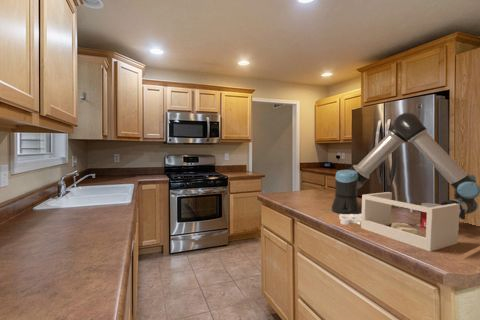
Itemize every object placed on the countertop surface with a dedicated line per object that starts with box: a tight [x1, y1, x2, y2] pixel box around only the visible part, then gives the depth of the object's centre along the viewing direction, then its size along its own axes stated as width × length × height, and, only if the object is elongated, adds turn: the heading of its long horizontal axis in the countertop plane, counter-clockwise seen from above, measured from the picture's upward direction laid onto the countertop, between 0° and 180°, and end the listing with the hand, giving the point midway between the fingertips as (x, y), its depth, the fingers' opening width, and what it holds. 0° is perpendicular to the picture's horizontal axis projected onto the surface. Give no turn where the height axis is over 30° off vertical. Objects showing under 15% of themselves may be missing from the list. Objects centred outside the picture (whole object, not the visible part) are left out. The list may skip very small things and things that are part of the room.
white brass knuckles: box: [338, 213, 362, 226], centre depth 125 cm, size 3×18×15 cm
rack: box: [360, 191, 460, 252], centre depth 104 cm, size 28×18×16 cm, turn 26°
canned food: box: [419, 202, 442, 230], centre depth 113 cm, size 8×8×11 cm
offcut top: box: [390, 222, 418, 235], centre depth 103 cm, size 9×6×2 cm, turn 171°
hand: (427, 212), depth 112 cm, fingers open, 13 cm apart
